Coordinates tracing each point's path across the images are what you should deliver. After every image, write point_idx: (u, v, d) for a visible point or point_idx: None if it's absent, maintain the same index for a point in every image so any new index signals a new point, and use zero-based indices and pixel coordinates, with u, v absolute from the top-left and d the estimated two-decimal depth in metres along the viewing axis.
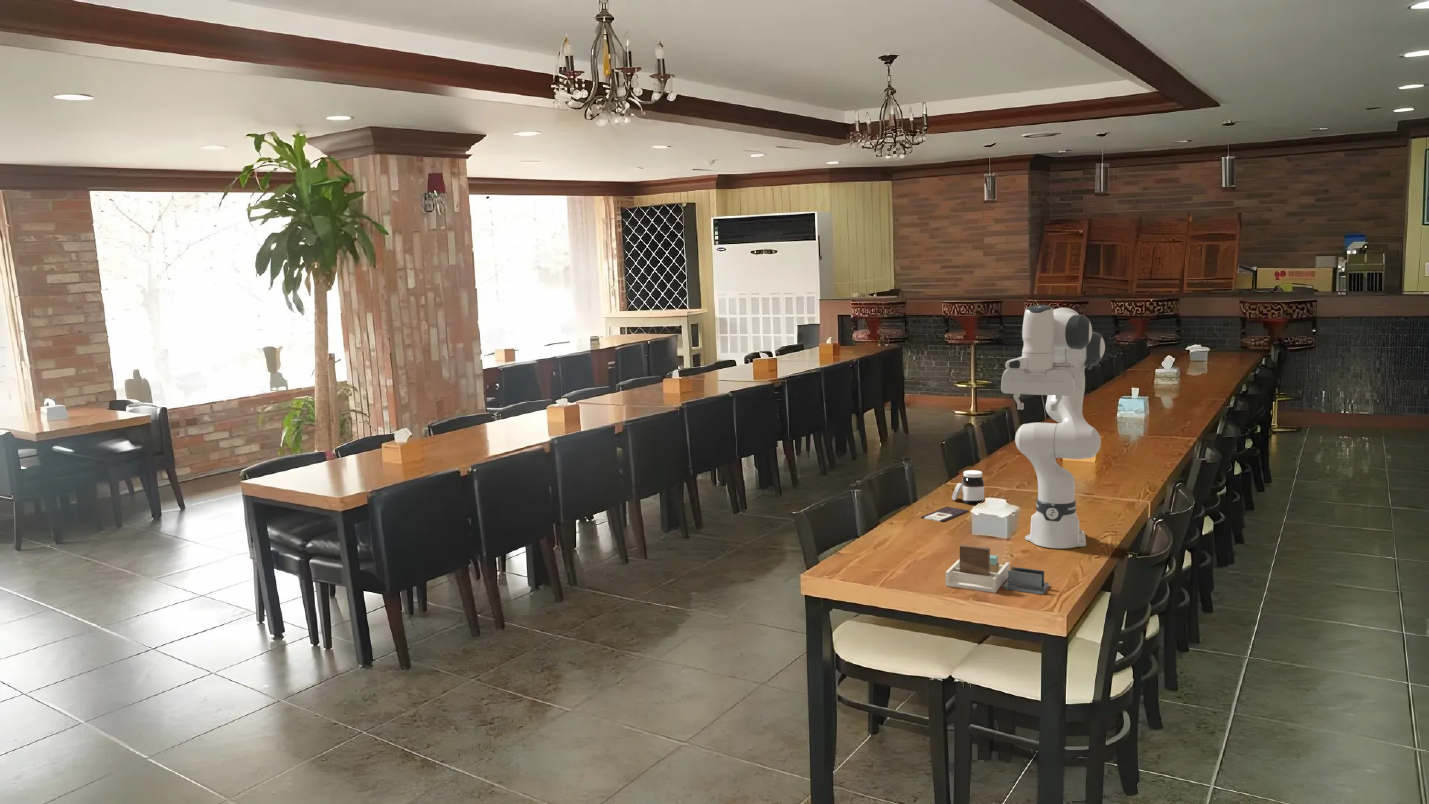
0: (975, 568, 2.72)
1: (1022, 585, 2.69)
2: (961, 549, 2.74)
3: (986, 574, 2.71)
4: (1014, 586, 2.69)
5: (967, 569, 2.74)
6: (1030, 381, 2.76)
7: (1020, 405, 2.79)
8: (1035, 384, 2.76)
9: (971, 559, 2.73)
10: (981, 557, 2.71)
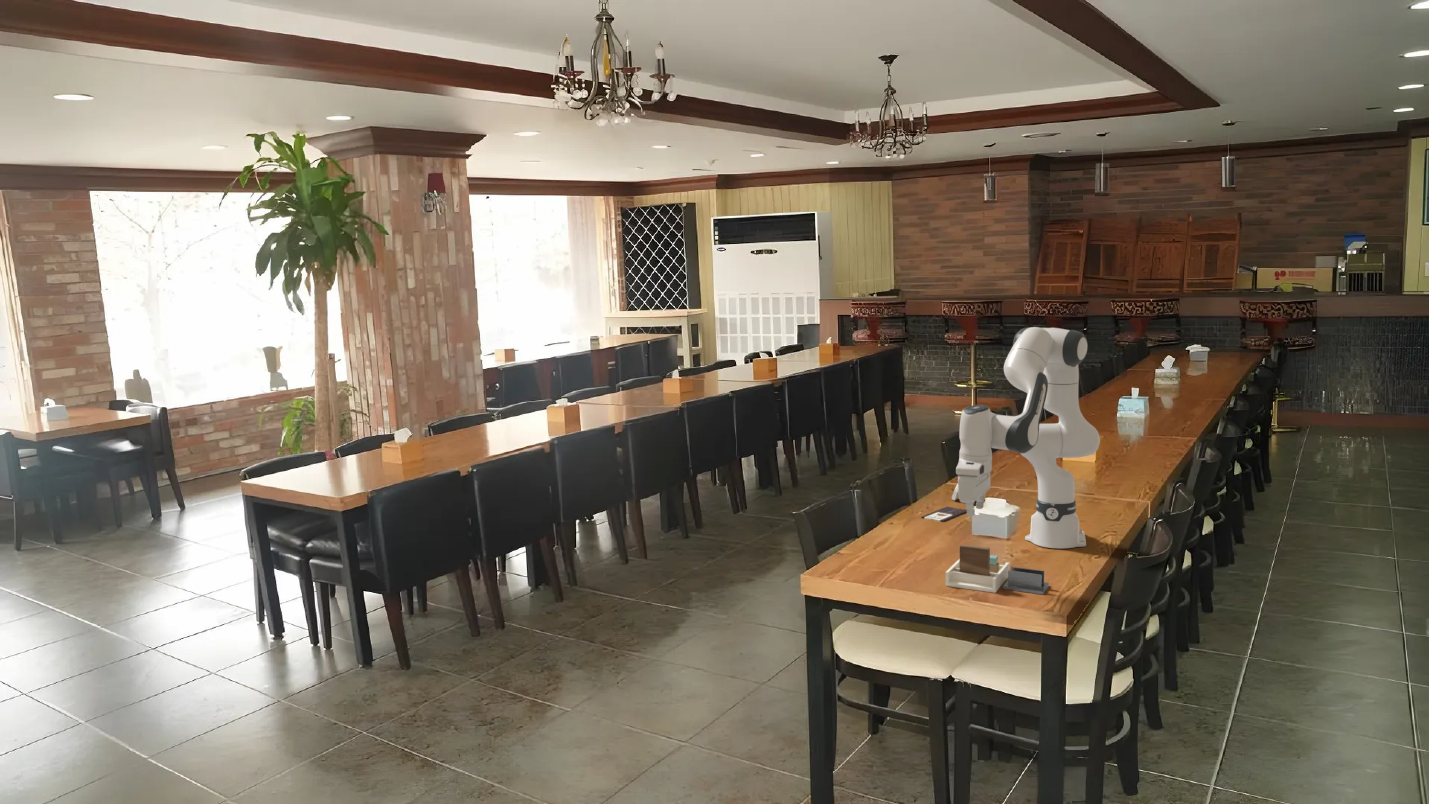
0: (975, 568, 2.72)
1: (1022, 585, 2.69)
2: (961, 549, 2.74)
3: (986, 574, 2.71)
4: (1014, 586, 2.69)
5: (967, 569, 2.74)
6: (980, 484, 2.68)
7: (974, 511, 2.67)
8: (981, 486, 2.69)
9: (971, 559, 2.73)
10: (981, 557, 2.71)
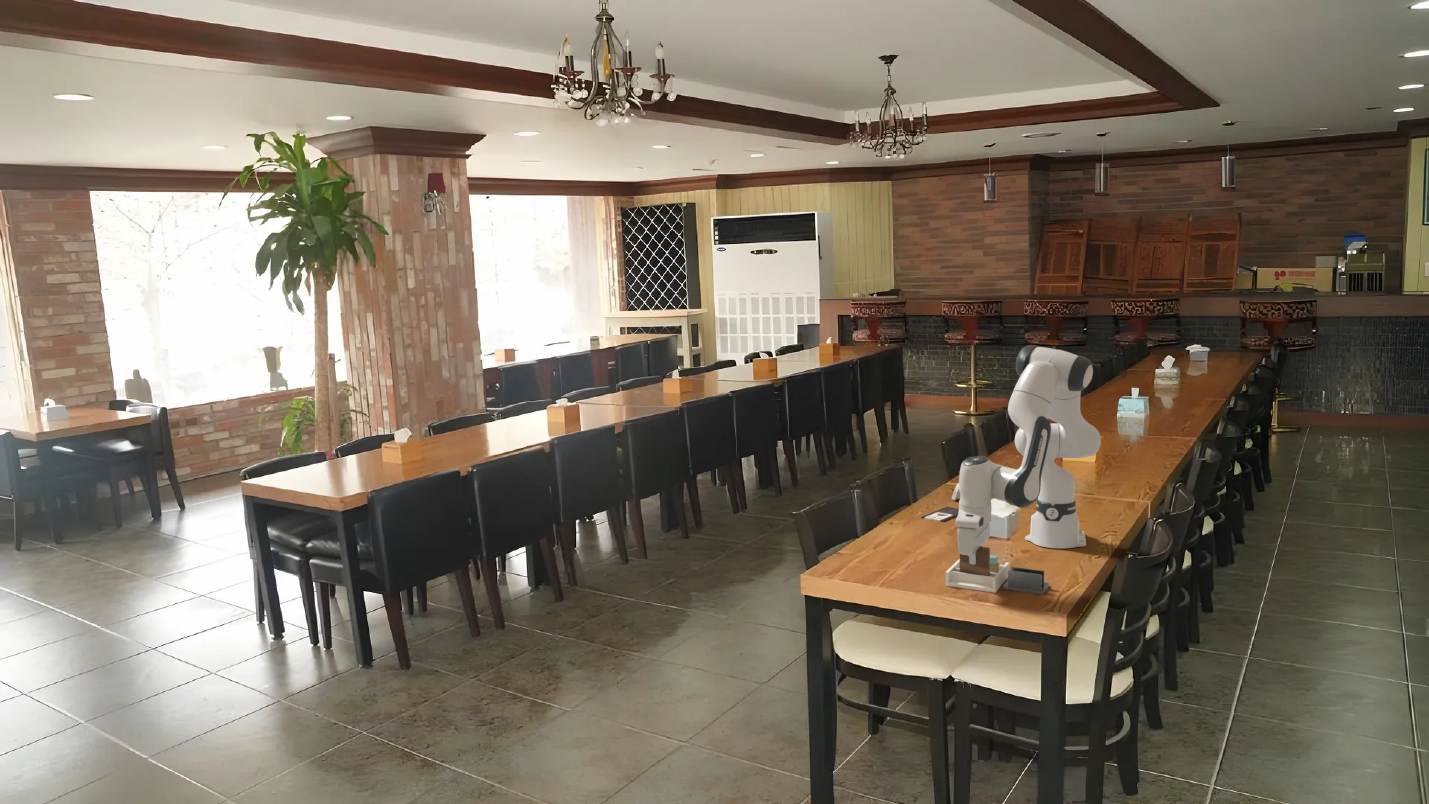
0: (975, 568, 2.72)
1: (1022, 585, 2.69)
2: None
3: (986, 574, 2.71)
4: (1014, 586, 2.69)
5: (967, 569, 2.74)
6: (979, 535, 2.70)
7: (976, 559, 2.71)
8: (980, 536, 2.71)
9: None
10: (981, 557, 2.71)
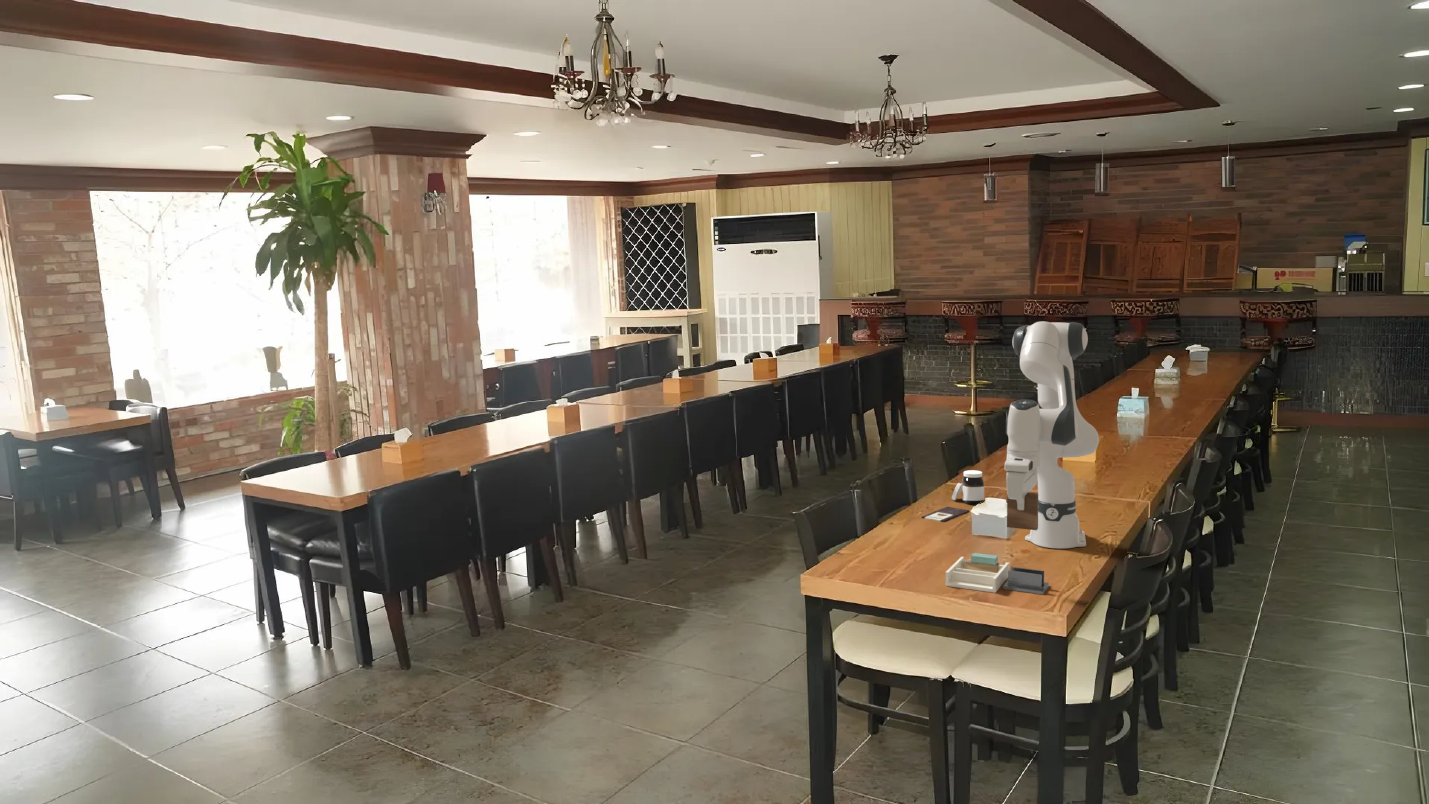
0: (1023, 514, 2.67)
1: (1022, 585, 2.69)
2: None
3: (1035, 520, 2.66)
4: (1014, 586, 2.69)
5: (1015, 516, 2.68)
6: (1028, 480, 2.64)
7: (1024, 505, 2.66)
8: (1029, 482, 2.66)
9: None
10: (1030, 503, 2.66)
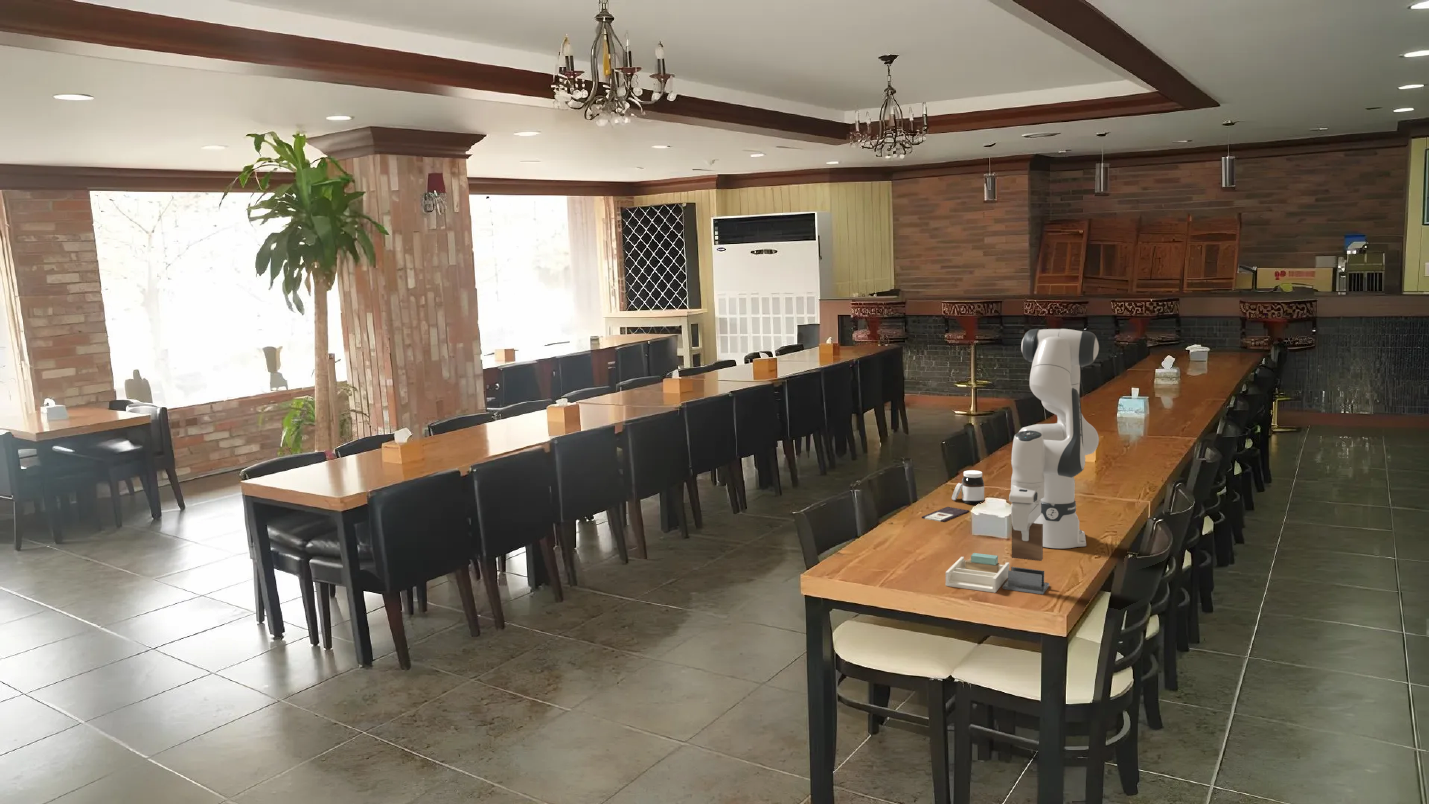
0: (1028, 545, 2.67)
1: (1022, 585, 2.69)
2: None
3: (1039, 551, 2.66)
4: (1014, 586, 2.69)
5: (1020, 546, 2.69)
6: (1032, 511, 2.65)
7: (1029, 536, 2.66)
8: (1033, 512, 2.66)
9: None
10: (1034, 533, 2.66)
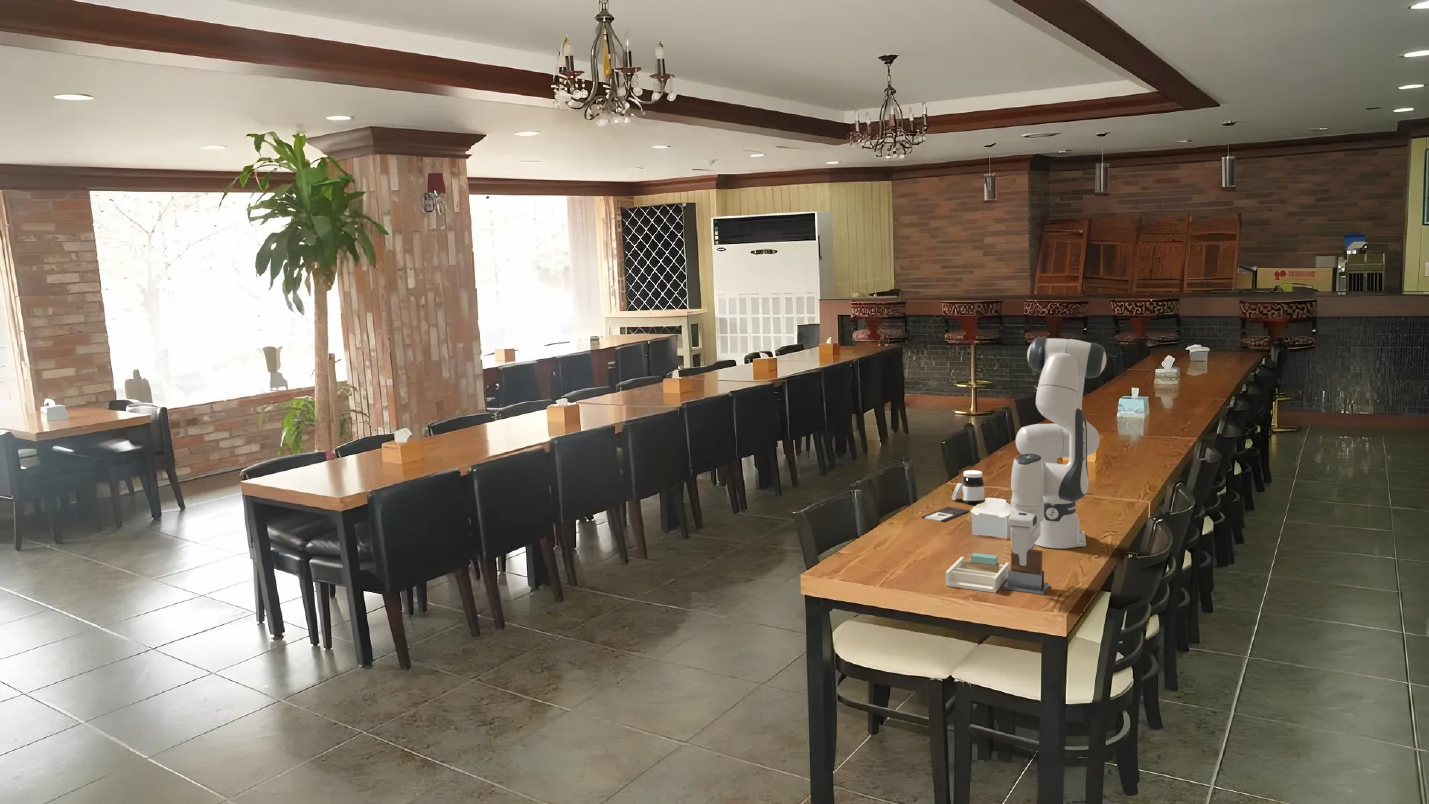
0: (1027, 571, 2.69)
1: (1022, 585, 2.69)
2: None
3: None
4: (1014, 586, 2.69)
5: None
6: (1032, 534, 2.66)
7: (1026, 560, 2.66)
8: (1033, 535, 2.67)
9: None
10: (1034, 560, 2.67)
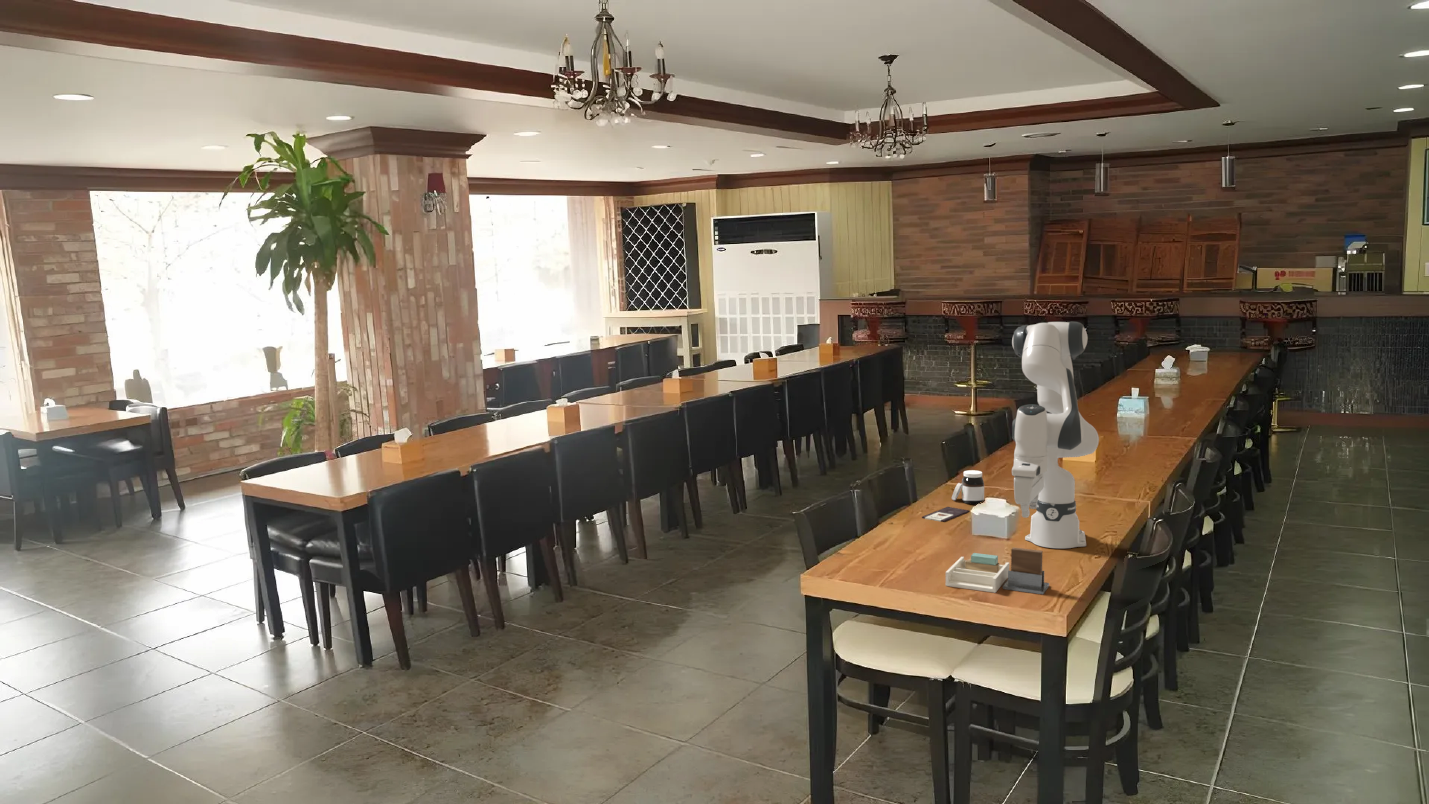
0: (1027, 571, 2.69)
1: (1022, 585, 2.69)
2: (1013, 552, 2.70)
3: None
4: (1014, 586, 2.69)
5: None
6: (1035, 485, 2.65)
7: (1029, 512, 2.64)
8: (1036, 486, 2.67)
9: (1023, 562, 2.69)
10: (1034, 560, 2.67)
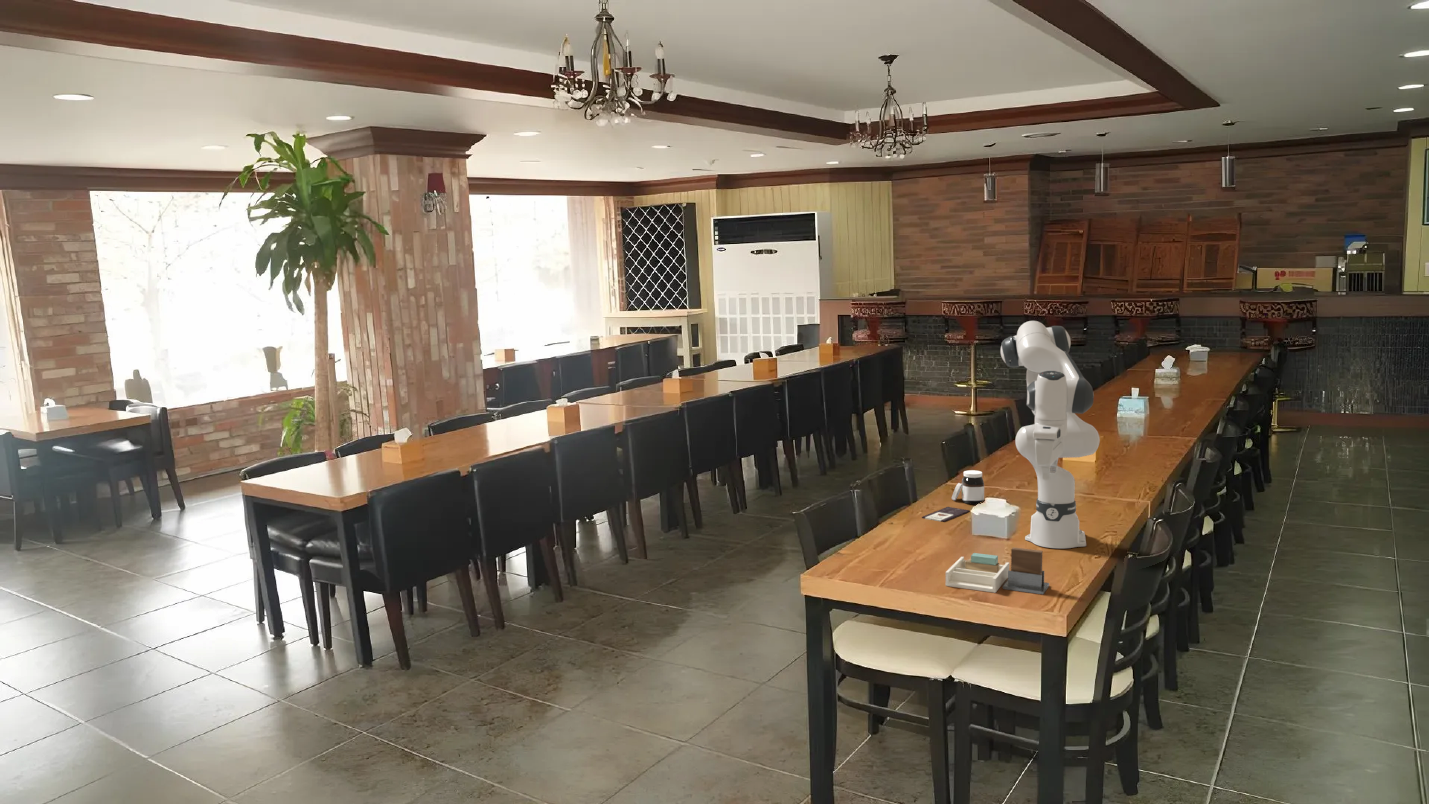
0: (1027, 571, 2.69)
1: (1022, 585, 2.69)
2: (1013, 552, 2.70)
3: None
4: (1014, 586, 2.69)
5: None
6: (1055, 448, 2.74)
7: (1049, 474, 2.73)
8: (1056, 450, 2.75)
9: (1023, 562, 2.69)
10: (1034, 560, 2.67)
